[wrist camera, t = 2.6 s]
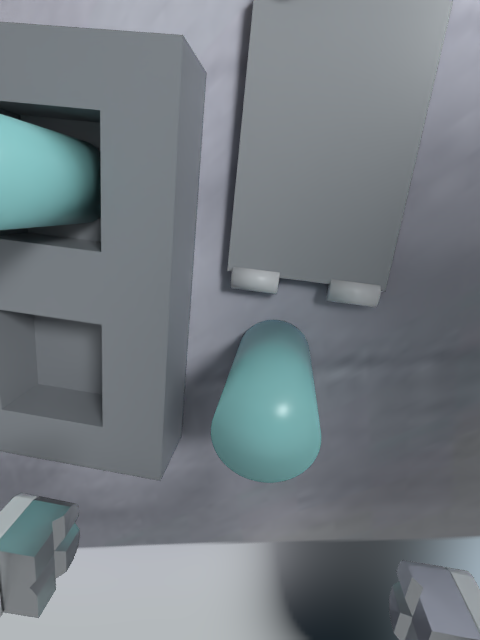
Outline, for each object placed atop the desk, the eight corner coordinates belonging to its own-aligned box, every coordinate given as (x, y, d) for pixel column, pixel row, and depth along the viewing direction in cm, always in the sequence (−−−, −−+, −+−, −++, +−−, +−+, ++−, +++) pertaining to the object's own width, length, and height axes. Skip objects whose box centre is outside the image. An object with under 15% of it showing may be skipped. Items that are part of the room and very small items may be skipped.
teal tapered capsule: (315, 325, 20) (330, 396, 13) (303, 390, 21) (311, 491, 14) (242, 315, 21) (215, 378, 13) (235, 379, 22) (206, 472, 14)
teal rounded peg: (115, 142, 18) (-16, 94, 10) (114, 227, 19) (-2, 241, 11) (36, 134, 18) (-145, 83, 11) (41, 218, 19) (-119, 226, 12)
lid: (445, 9, 15) (457, -7, 14) (377, 304, 19) (383, 310, 18) (256, -3, 16) (253, -19, 15) (228, 284, 20) (224, 289, 19)
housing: (206, 72, 17) (183, 35, 13) (181, 436, 23) (160, 480, 20) (-30, 53, 18) (-114, 13, 15) (5, 406, 24) (-48, 442, 21)
